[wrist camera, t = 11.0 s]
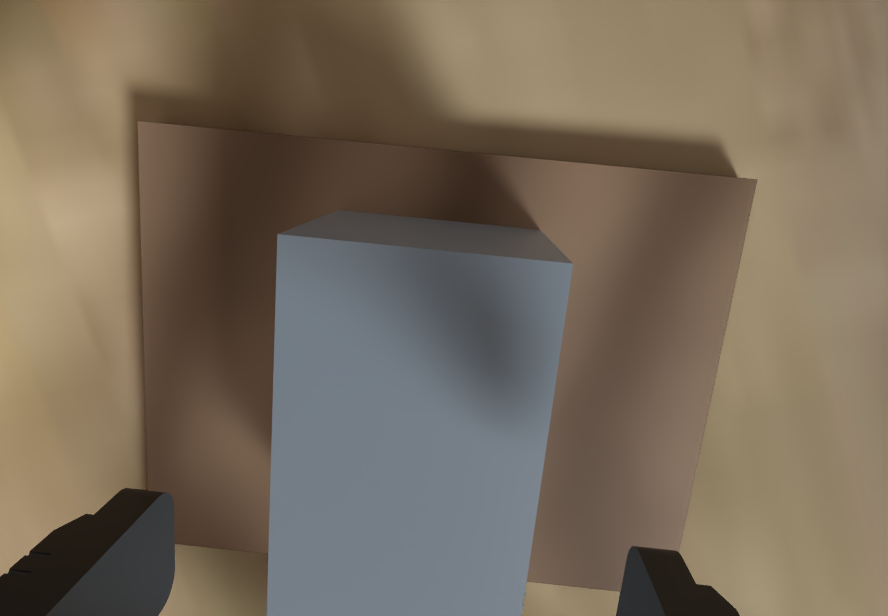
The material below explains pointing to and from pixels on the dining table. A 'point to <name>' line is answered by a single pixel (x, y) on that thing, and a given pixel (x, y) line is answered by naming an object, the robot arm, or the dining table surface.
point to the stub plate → (451, 199)
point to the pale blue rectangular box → (410, 414)
